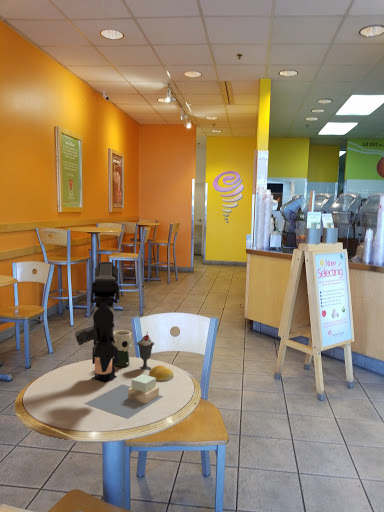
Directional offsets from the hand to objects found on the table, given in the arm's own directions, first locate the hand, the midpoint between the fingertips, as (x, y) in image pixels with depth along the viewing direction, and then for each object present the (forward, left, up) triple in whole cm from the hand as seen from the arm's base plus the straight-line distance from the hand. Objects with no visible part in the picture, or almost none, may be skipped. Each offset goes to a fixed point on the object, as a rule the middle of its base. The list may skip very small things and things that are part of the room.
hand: (103, 368), depth 125 cm
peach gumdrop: (0, 0, -1) cm, 1 cm away
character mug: (-16, +28, -11) cm, 34 cm away
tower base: (+9, +9, -10) cm, 16 cm away
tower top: (+9, +9, -7) cm, 15 cm away
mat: (+5, +4, -10) cm, 12 cm away
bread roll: (+4, +27, -11) cm, 29 cm away
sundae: (-6, +30, -11) cm, 32 cm away
